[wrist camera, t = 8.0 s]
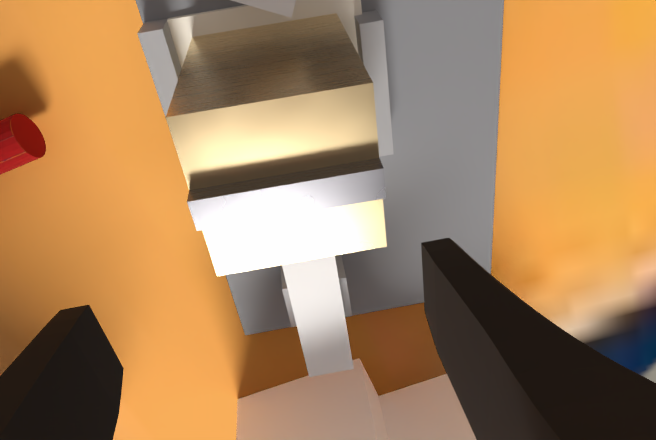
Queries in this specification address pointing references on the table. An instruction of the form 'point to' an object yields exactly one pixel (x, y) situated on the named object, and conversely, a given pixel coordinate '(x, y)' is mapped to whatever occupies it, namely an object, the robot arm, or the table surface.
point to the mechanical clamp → (19, 142)
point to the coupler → (279, 144)
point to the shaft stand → (394, 151)
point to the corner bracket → (352, 410)
